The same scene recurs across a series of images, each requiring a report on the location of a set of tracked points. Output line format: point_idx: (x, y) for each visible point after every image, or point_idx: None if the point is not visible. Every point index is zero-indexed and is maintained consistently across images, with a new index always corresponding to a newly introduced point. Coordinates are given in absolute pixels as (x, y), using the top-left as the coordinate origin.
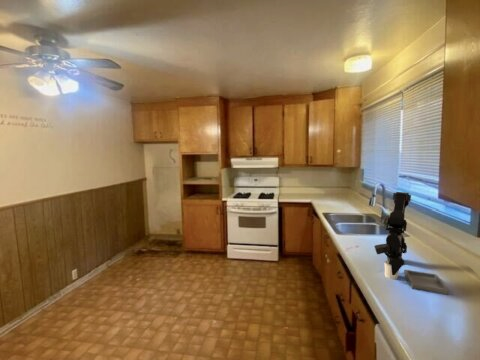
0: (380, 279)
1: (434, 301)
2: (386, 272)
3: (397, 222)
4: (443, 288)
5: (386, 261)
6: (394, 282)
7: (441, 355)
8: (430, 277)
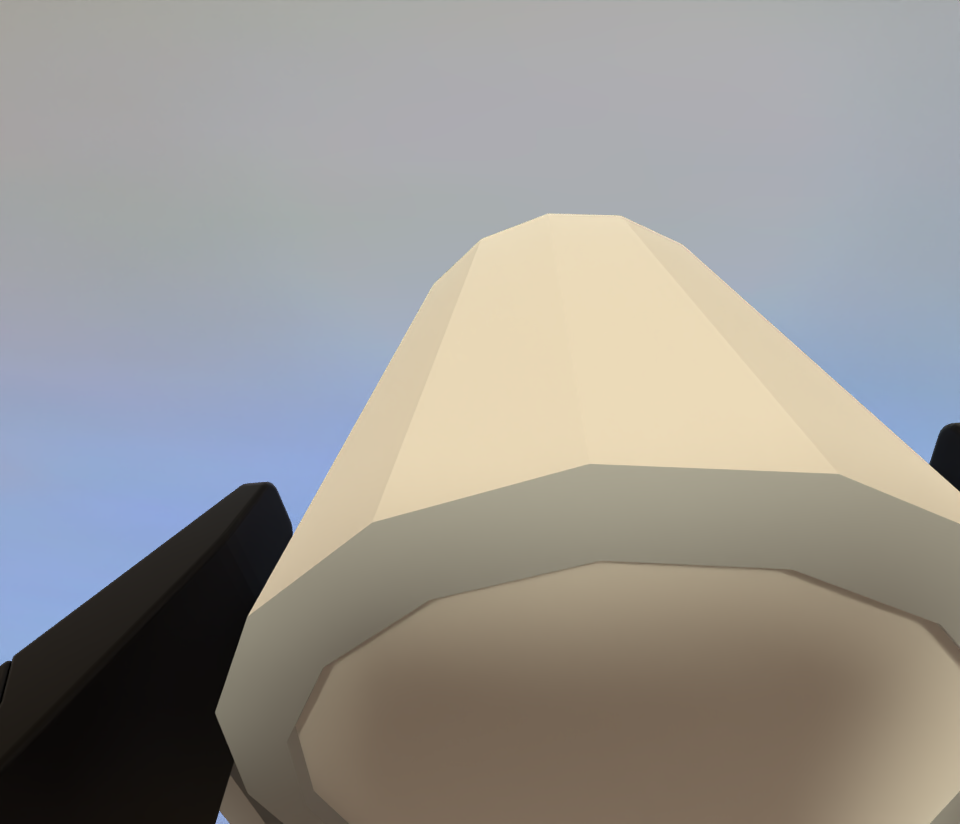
0: (154, 72)
1: None
2: (433, 313)
3: None
4: None
5: (861, 588)
6: (247, 424)
7: None
8: None
